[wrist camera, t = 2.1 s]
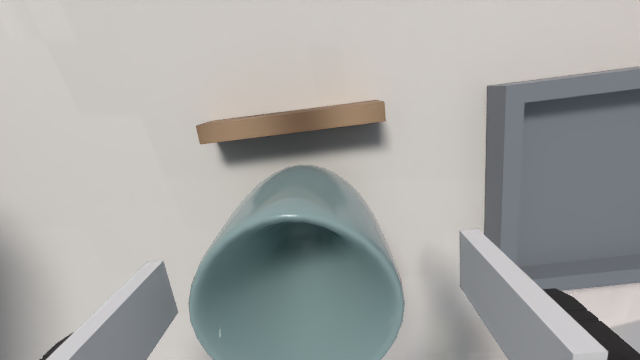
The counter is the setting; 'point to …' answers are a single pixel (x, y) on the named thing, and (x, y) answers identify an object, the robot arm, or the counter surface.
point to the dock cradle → (566, 177)
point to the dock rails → (292, 121)
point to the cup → (298, 275)
